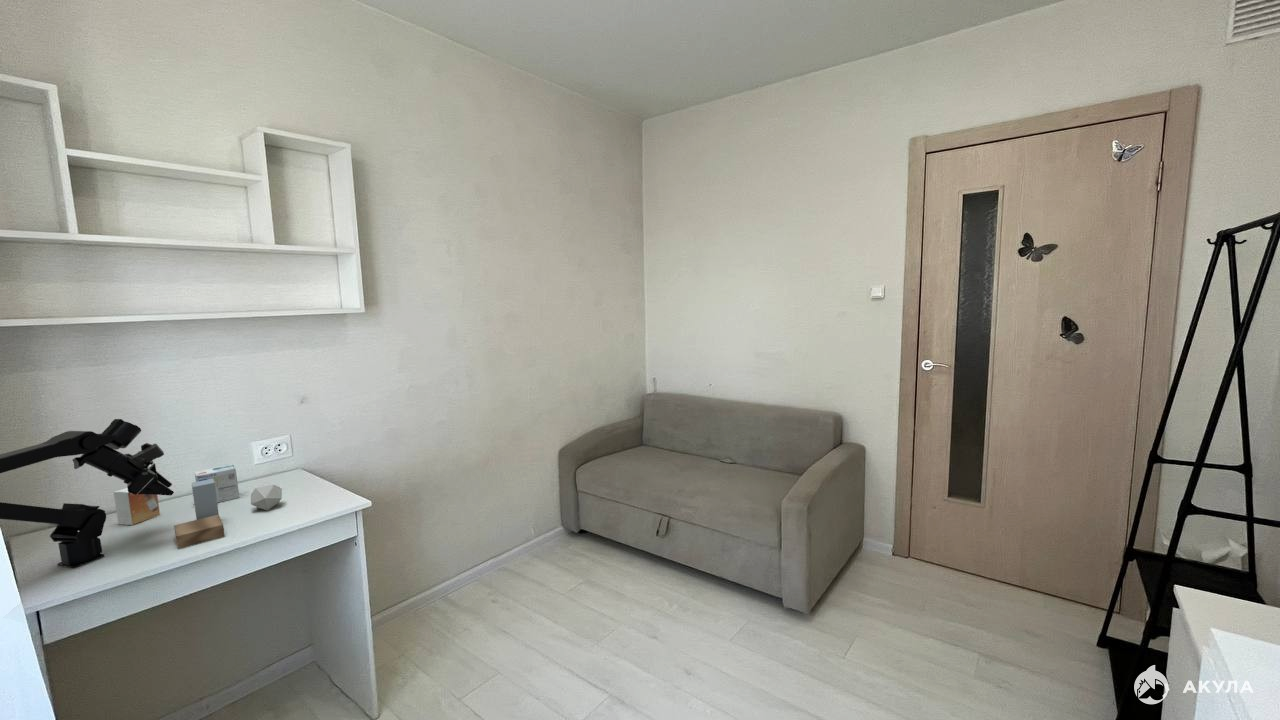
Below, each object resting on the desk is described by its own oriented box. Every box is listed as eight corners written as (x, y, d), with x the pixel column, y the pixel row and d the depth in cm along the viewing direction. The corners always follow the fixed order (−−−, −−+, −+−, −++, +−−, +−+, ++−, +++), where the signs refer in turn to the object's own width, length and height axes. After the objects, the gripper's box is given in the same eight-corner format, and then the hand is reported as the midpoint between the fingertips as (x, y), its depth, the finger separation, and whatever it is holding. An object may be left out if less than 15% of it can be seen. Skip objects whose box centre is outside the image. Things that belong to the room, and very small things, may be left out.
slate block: (198, 529, 154) (192, 487, 153) (197, 523, 158) (191, 482, 156) (219, 523, 158) (214, 482, 156) (218, 518, 161) (212, 478, 160)
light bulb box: (237, 492, 183) (233, 463, 182) (240, 497, 178) (236, 467, 177) (197, 501, 175) (193, 470, 174) (199, 507, 171) (195, 475, 169)
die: (289, 507, 171) (287, 479, 175) (268, 504, 163) (266, 475, 167) (266, 516, 171) (265, 488, 175) (244, 513, 163) (243, 484, 167)
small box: (132, 525, 157) (126, 492, 156) (117, 524, 159) (112, 491, 157) (161, 514, 165) (156, 482, 164) (147, 513, 166) (142, 482, 165)
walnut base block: (178, 550, 142) (176, 536, 142) (175, 538, 149) (173, 525, 149) (224, 537, 149) (223, 524, 149) (220, 527, 156) (218, 514, 156)
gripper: (138, 444, 139) (197, 473, 148) (137, 431, 152) (192, 459, 161) (100, 480, 135) (164, 508, 144) (103, 464, 148) (161, 490, 157)
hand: (171, 489), depth 151 cm, fingers open, 9 cm apart
